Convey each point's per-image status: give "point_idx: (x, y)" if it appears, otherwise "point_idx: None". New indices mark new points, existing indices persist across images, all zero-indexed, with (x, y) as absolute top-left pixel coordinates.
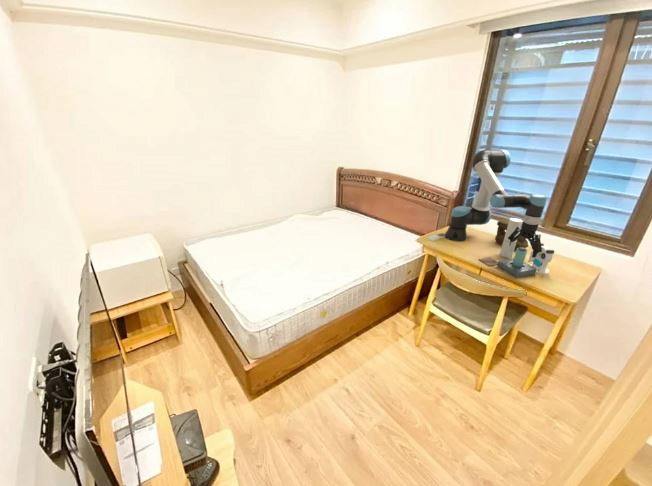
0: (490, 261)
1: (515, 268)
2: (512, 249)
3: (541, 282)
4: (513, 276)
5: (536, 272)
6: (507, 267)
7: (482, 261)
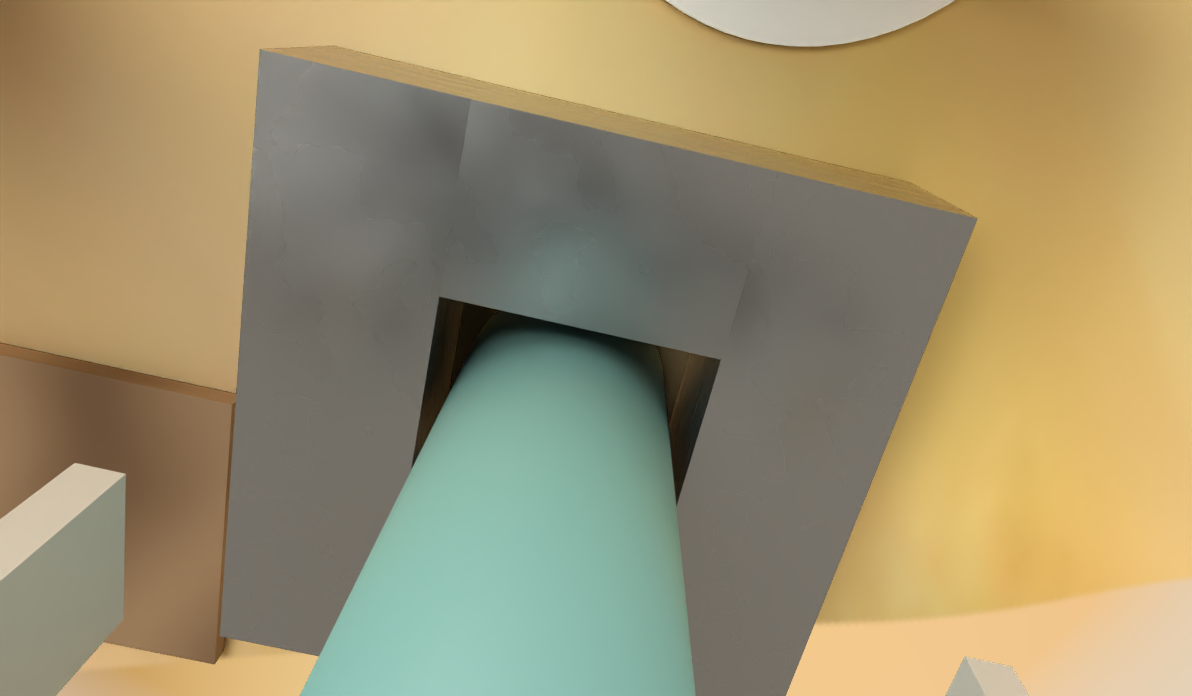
0: None
1: None
2: (55, 593)
3: (1130, 393)
4: None
5: (888, 29)
6: None
7: None
